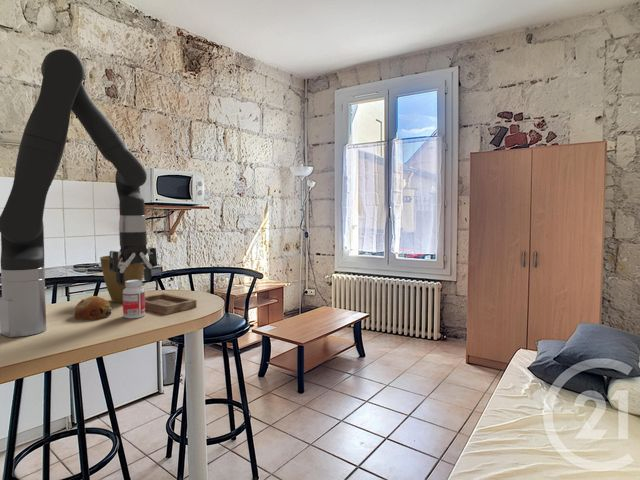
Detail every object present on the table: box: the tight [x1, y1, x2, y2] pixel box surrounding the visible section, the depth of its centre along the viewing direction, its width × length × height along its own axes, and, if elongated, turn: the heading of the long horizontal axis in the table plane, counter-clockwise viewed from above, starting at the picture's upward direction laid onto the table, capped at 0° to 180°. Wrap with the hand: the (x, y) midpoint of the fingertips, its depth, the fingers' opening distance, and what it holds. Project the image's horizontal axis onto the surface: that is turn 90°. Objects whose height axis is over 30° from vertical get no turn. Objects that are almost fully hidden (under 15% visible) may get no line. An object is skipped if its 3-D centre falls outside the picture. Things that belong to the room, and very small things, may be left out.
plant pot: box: [99, 255, 147, 304], centre depth 144 cm, size 15×15×16 cm
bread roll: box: [73, 295, 113, 321], centre depth 124 cm, size 10×10×8 cm
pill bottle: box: [122, 279, 146, 320], centre depth 124 cm, size 6×6×11 cm
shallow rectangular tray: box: [145, 292, 197, 316], centre depth 137 cm, size 12×18×2 cm, turn 57°
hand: (134, 282), depth 123 cm, fingers open, 8 cm apart
